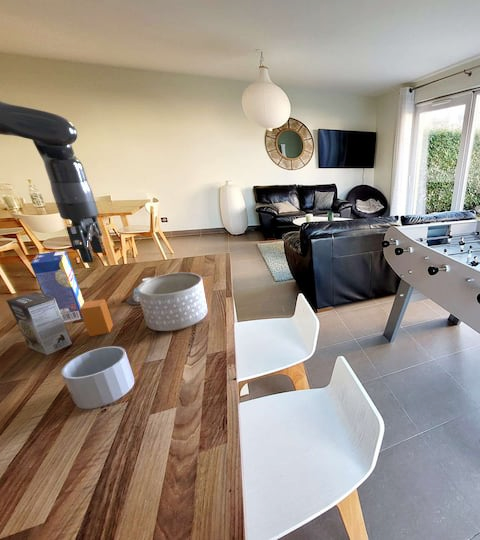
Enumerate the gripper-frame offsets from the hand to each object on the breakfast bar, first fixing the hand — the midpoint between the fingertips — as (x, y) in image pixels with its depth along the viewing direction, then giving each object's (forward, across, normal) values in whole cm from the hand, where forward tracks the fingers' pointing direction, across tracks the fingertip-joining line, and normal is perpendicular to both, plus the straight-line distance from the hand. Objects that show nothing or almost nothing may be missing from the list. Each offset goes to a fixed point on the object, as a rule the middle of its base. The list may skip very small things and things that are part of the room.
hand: (93, 257), depth 81 cm
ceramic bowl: (+27, +25, +2) cm, 37 cm away
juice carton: (+27, -6, -6) cm, 29 cm away
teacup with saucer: (+27, -28, +3) cm, 39 cm away
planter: (+27, -5, +16) cm, 32 cm away
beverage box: (+27, -22, -18) cm, 40 cm away
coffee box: (+27, -2, -17) cm, 32 cm away
